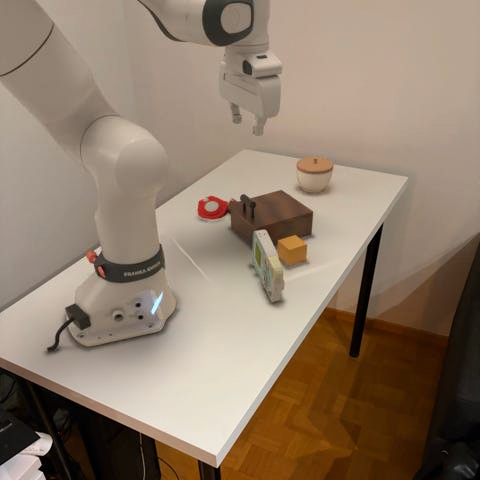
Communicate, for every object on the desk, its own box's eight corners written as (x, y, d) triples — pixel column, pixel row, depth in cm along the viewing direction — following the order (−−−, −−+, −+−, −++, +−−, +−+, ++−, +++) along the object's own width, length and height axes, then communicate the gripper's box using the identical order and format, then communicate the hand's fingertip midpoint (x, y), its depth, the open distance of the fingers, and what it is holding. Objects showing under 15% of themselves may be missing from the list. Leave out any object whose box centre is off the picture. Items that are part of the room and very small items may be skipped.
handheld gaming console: (269, 310, 104) (250, 266, 113) (282, 308, 104) (262, 264, 114) (273, 271, 95) (252, 227, 105) (286, 269, 96) (264, 225, 106)
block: (288, 268, 112) (289, 249, 109) (276, 258, 116) (277, 240, 113) (306, 262, 114) (307, 244, 111) (294, 252, 118) (295, 234, 114)
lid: (256, 231, 113) (256, 212, 110) (227, 207, 123) (226, 188, 120) (313, 214, 119) (314, 195, 116) (281, 192, 129) (281, 174, 126)
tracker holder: (204, 221, 128) (189, 199, 133) (207, 232, 132) (192, 210, 137) (244, 202, 130) (228, 181, 135) (246, 214, 134) (230, 193, 139)
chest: (259, 253, 118) (259, 230, 114) (230, 228, 128) (230, 206, 124) (311, 236, 123) (313, 214, 119) (280, 213, 133) (281, 192, 129)
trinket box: (294, 181, 150) (296, 151, 144) (329, 181, 149) (332, 151, 143) (296, 196, 141) (297, 165, 136) (332, 196, 141) (336, 165, 135)
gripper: (210, 51, 103) (213, 118, 111) (258, 70, 89) (258, 145, 97) (236, 48, 105) (237, 114, 114) (287, 65, 91) (284, 139, 100)
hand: (247, 128), depth 106 cm, fingers open, 8 cm apart
